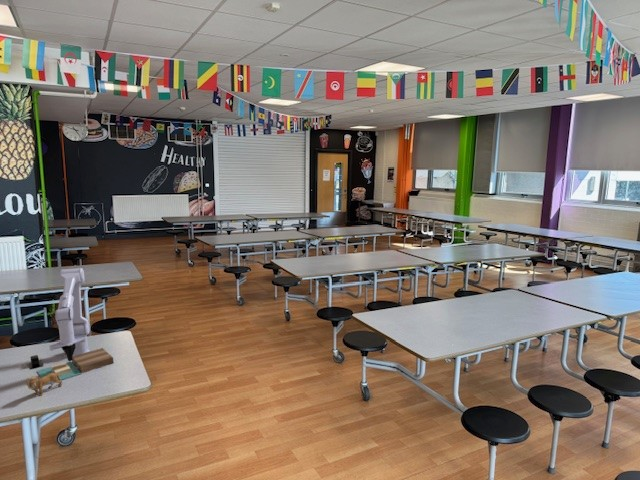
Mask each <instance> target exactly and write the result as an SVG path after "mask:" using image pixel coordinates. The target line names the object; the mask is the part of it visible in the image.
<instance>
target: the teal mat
mask: <svg viewBox="0 0 640 480" xmlns="http://www.w3.org/2000/svg"><path fill="white" fill-rule="evenodd" d="M66 364H67V365H68V366H69V367H70V368H71V373H68V374H65V375H61V376H59V378H60V381H64V380H67V379H69V378H73V377H76V376H80V375H81V374H82V373H81V372H80V370H79V369H78V368H77V367H76V366H75V365H74V363H73V362H72V361H66ZM36 372H37V373H38V375H39V377H41V378H43V377H45V376H47V375H48V374H51V373H53V372H52V370H51V366H49V367H45V368H42V369H38V370H36ZM47 385H51V383H50V382H49V383H48V384H47ZM47 385H46V386H47Z"/></svg>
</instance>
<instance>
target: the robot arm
mask: <svg viewBox="0 0 640 480" xmlns="http://www.w3.org/2000/svg"><path fill="white" fill-rule="evenodd" d="M59 278H60V279H59V280H60V281H61V283H62V284H63V292H62V295H60V297H59V302H58V308H57V309H56V310H55V312H54V315H55V316H54V317H55V321H56V325H57V326H58V331H59V332H58V333H59V341H60V342H59V341H58V342H57V343H54V344H51V345H49V350H50V352H52V351H54V350H57V349H62V351H63V352H64V354H65V355H66V358H67V362H69V361H71V362H72V357H73V356H75V355H79V354H82V353H86V352H90V351H91V350H90V349H89V343H88V335H89V334H90V331H91V330H90V324H89V323H90V322H89V320H88V318H86V317H84V316H83V313H82V312H83V311H82V309H83V307H82V293H81V292H82V285H83V284H85V280H86V279H85V271H84V268H82V267H78V268H67V269H63V268H62V269H61V270H60V271H59Z"/></svg>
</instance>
